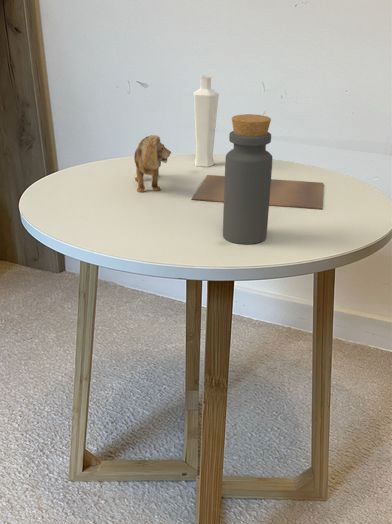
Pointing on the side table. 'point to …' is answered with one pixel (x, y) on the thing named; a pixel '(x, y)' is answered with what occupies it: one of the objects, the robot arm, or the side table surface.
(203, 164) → the perfume bottle
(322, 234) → the side table surface
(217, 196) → the copper mat
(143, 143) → the lion figurine
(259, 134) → the bottle
